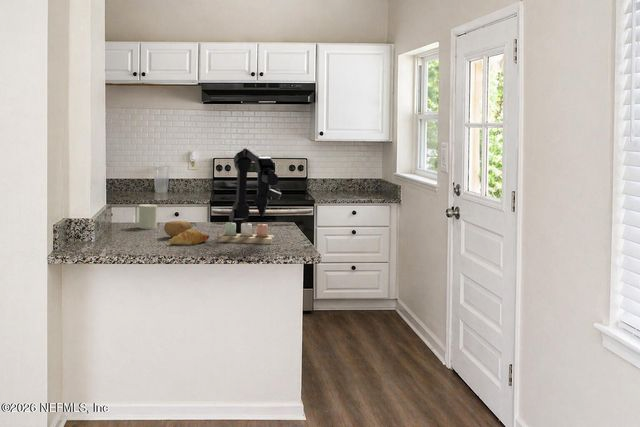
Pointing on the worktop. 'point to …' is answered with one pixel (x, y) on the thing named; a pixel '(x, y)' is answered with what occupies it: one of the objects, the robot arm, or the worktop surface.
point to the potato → (176, 227)
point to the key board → (246, 239)
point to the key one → (230, 229)
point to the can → (148, 216)
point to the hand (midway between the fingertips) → (262, 216)
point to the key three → (262, 230)
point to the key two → (246, 229)
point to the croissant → (189, 237)
